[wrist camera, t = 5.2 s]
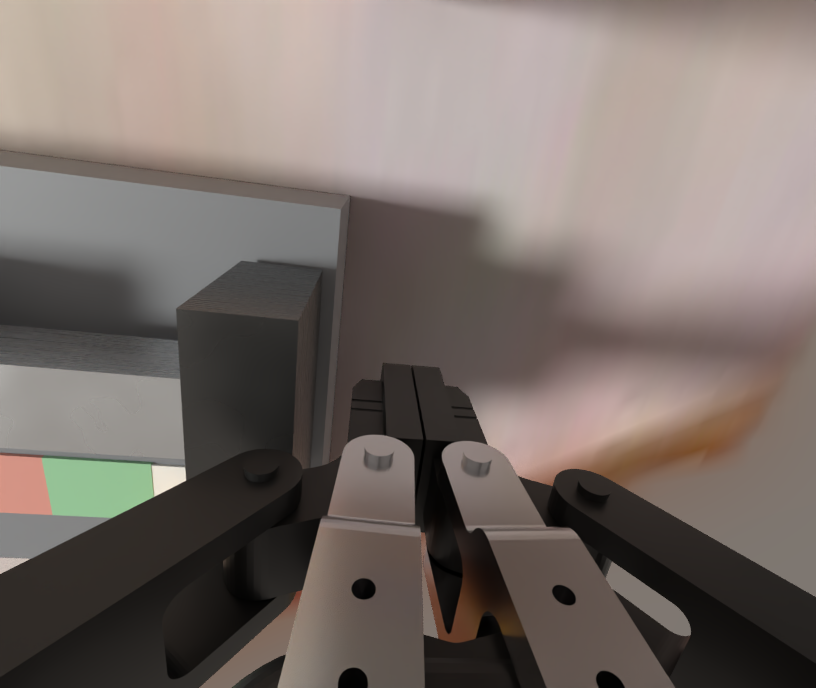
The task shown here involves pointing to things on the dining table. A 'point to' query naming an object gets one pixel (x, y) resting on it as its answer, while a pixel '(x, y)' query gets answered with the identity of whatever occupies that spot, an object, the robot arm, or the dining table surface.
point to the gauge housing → (139, 303)
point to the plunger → (175, 377)
